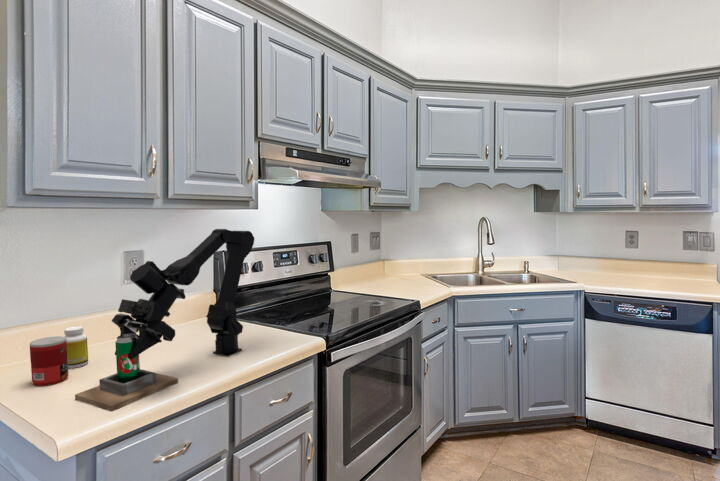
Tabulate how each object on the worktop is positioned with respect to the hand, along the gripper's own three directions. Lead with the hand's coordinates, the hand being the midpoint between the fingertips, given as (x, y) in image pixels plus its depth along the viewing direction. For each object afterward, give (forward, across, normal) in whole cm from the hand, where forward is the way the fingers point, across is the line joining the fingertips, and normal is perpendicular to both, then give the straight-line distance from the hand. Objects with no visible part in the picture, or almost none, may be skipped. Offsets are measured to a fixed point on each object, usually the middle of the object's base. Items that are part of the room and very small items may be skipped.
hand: (122, 357), depth 108 cm
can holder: (+6, 0, +7) cm, 9 cm away
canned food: (+10, -25, +3) cm, 27 cm away
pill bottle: (+3, -31, +10) cm, 33 cm away
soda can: (+4, 0, +6) cm, 7 cm away
